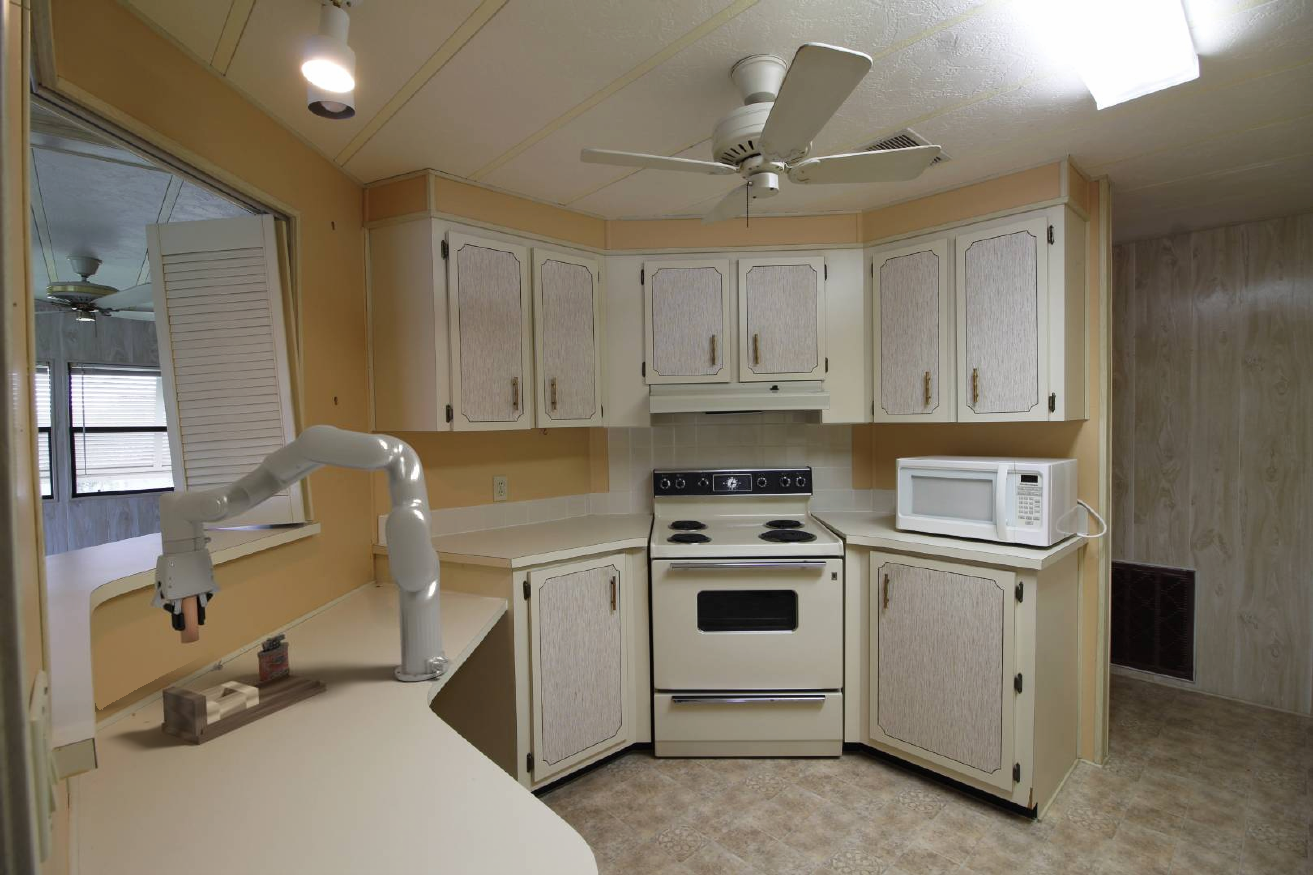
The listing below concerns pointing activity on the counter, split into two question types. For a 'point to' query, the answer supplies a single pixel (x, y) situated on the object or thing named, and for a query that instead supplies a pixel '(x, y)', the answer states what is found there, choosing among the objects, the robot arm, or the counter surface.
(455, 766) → the counter surface
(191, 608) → the dowel
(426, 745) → the counter surface
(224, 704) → the block
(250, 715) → the rail board
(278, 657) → the lighter
